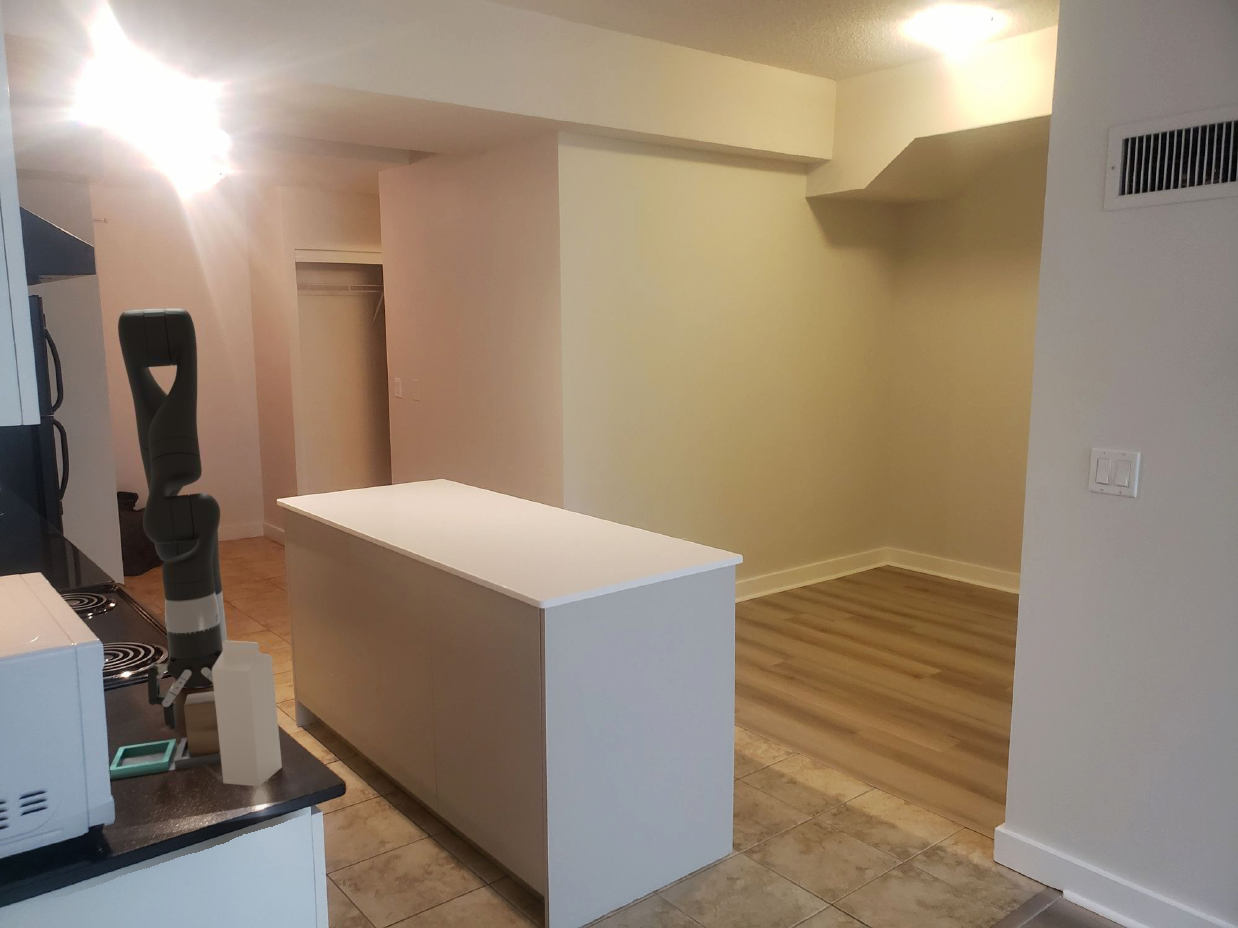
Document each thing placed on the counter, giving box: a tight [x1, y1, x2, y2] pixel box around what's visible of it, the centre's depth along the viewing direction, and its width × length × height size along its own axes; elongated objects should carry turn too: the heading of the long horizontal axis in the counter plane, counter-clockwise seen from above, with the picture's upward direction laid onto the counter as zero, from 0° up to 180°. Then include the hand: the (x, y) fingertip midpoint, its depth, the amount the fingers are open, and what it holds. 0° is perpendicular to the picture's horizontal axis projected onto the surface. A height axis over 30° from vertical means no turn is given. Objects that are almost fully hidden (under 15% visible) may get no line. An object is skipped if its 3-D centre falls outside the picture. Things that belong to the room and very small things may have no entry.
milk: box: [212, 640, 283, 787], centre depth 137 cm, size 6×6×22 cm
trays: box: [109, 736, 221, 780], centre depth 145 cm, size 9×18×2 cm, turn 107°
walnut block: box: [183, 690, 220, 756], centre depth 146 cm, size 4×4×9 cm
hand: (203, 722), depth 145 cm, fingers open, 8 cm apart
